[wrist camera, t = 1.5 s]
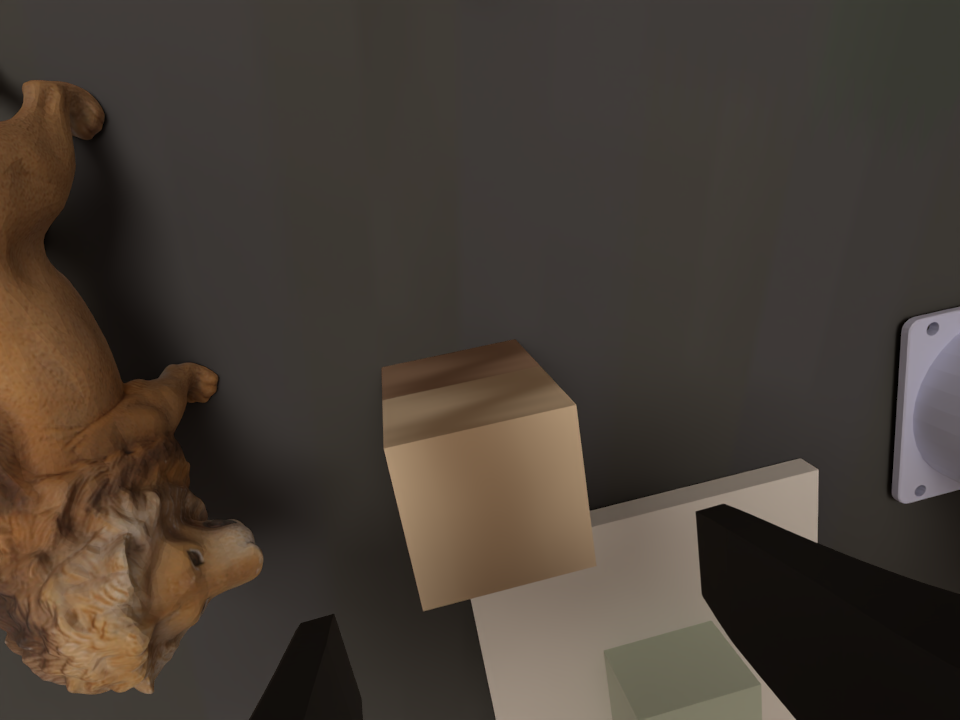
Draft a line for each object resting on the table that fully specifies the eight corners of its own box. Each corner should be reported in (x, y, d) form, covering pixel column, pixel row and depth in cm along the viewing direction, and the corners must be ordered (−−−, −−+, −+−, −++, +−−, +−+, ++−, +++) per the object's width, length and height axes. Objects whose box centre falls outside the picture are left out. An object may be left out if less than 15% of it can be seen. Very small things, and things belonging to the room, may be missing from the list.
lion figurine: (315, 466, 20) (268, 674, 11) (170, 531, 20) (10, 794, 11) (52, 8, 15) (-371, -229, 7) (-144, 87, 15) (-847, -51, 6)
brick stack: (515, 339, 20) (576, 404, 14) (533, 458, 21) (596, 565, 15) (381, 367, 19) (383, 448, 13) (409, 487, 21) (423, 611, 15)
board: (800, 458, 23) (888, 513, 19) (799, 750, 28) (869, 843, 24) (458, 543, 21) (477, 623, 18) (520, 838, 26) (545, 952, 22)
